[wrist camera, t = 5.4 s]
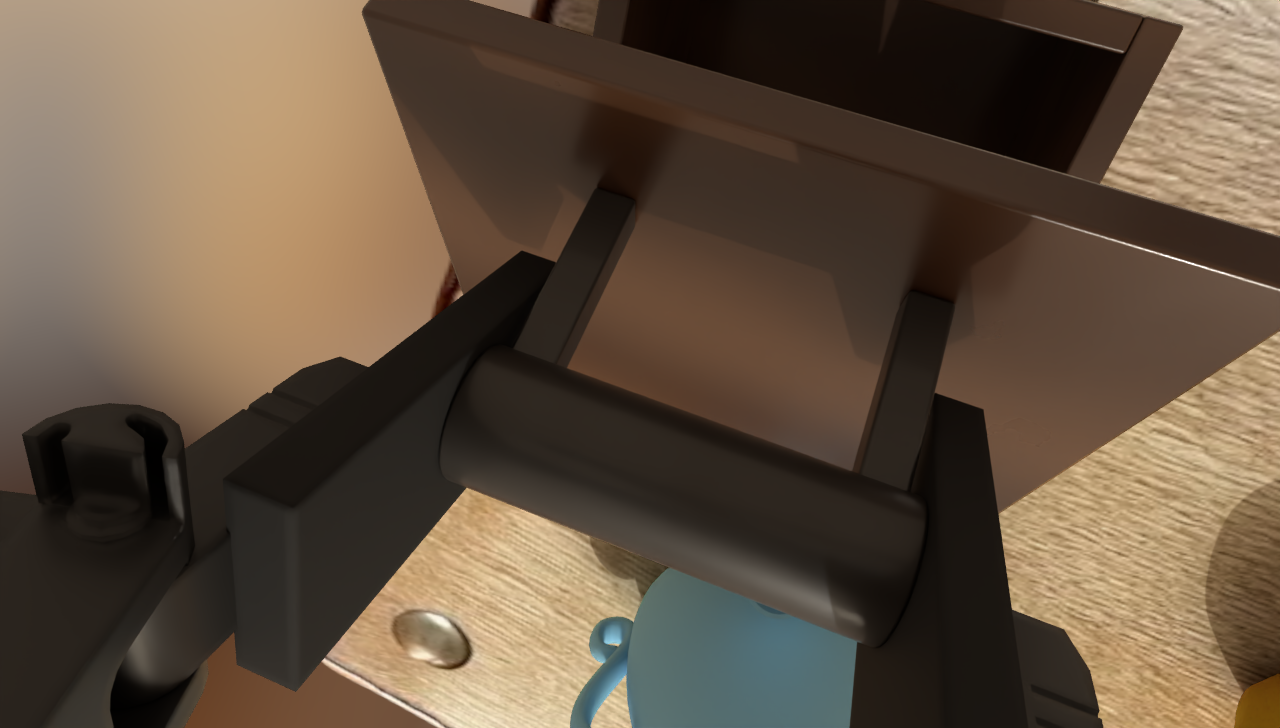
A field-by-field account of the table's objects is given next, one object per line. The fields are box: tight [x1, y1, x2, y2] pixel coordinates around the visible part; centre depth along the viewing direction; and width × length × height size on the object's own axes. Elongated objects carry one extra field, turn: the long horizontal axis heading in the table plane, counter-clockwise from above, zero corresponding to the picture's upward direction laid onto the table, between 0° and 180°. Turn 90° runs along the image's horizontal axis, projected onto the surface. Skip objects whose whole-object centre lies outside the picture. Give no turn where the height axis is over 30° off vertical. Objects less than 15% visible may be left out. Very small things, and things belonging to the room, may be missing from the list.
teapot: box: [570, 568, 857, 728], centre depth 34 cm, size 15×17×11 cm
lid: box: [362, 0, 1280, 648], centre depth 16 cm, size 16×13×6 cm
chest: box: [593, 0, 1183, 184], centre depth 25 cm, size 16×13×9 cm
